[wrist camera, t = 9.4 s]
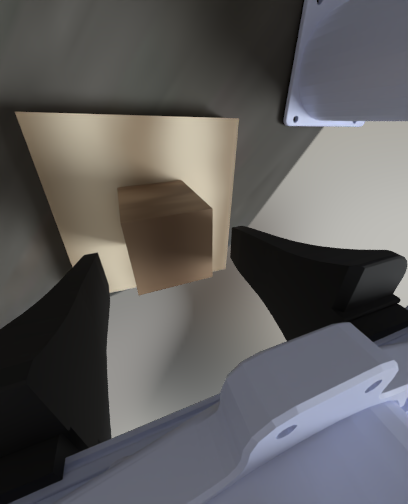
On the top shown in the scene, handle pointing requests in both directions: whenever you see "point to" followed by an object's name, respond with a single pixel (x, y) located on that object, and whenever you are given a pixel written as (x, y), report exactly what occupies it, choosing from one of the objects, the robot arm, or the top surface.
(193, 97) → the top surface
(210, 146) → the birch block
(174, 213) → the walnut block
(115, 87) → the top surface
